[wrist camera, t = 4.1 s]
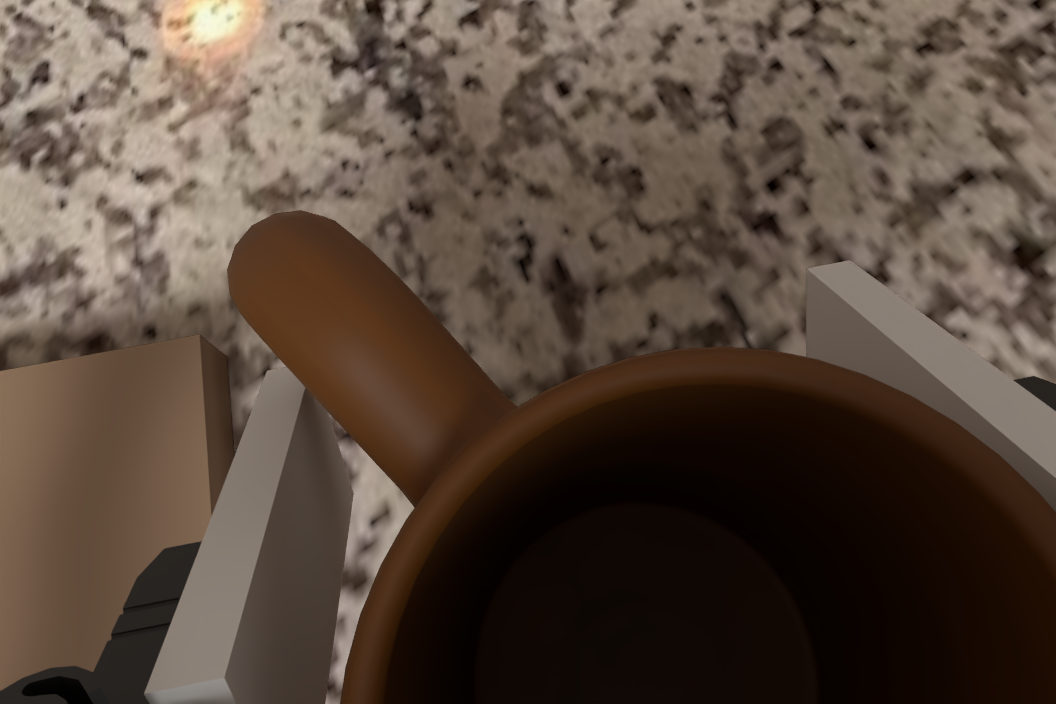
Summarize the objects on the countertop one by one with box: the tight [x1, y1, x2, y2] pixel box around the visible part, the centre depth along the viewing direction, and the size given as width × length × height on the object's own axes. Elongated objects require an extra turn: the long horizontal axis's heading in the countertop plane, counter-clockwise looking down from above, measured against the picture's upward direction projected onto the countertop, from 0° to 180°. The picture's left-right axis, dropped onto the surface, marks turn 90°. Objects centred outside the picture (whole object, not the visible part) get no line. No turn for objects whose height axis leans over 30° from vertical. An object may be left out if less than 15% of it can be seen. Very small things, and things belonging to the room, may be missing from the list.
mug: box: [227, 210, 1056, 704], centre depth 12 cm, size 12×8×9 cm, turn 44°
